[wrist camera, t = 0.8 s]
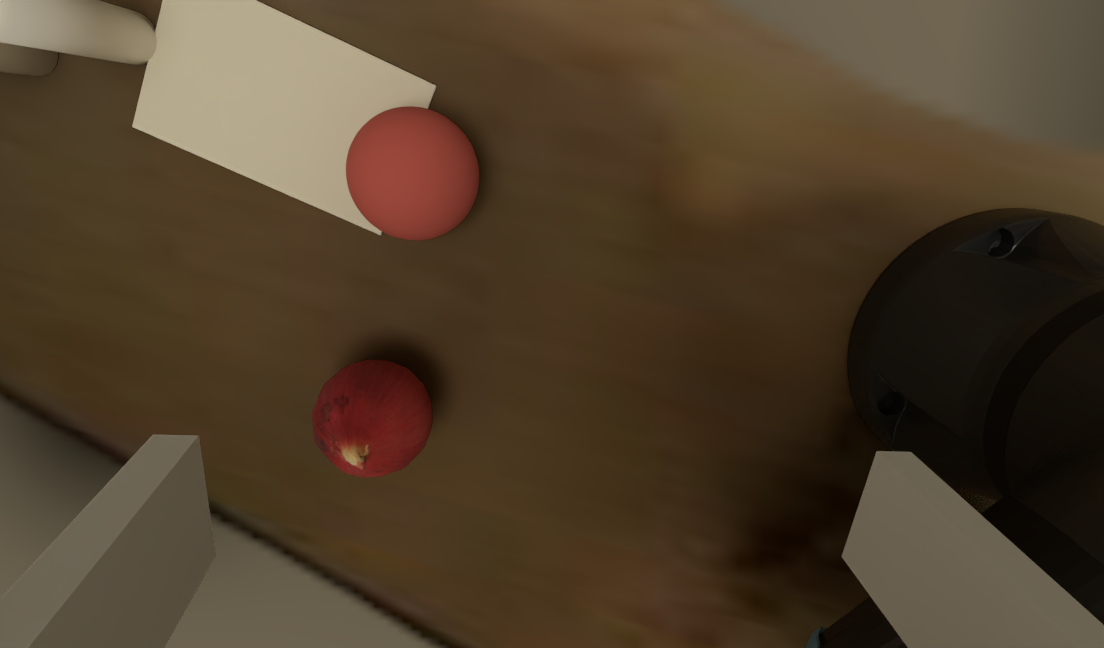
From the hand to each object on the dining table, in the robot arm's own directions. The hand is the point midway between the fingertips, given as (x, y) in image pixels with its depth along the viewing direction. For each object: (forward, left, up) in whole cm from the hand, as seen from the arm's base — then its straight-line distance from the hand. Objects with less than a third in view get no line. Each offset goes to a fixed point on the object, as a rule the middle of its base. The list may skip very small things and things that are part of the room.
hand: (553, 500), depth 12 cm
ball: (+8, -2, -19) cm, 20 cm away
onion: (+5, +10, -22) cm, 25 cm away
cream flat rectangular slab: (+15, -2, -22) cm, 27 cm away
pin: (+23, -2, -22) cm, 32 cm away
